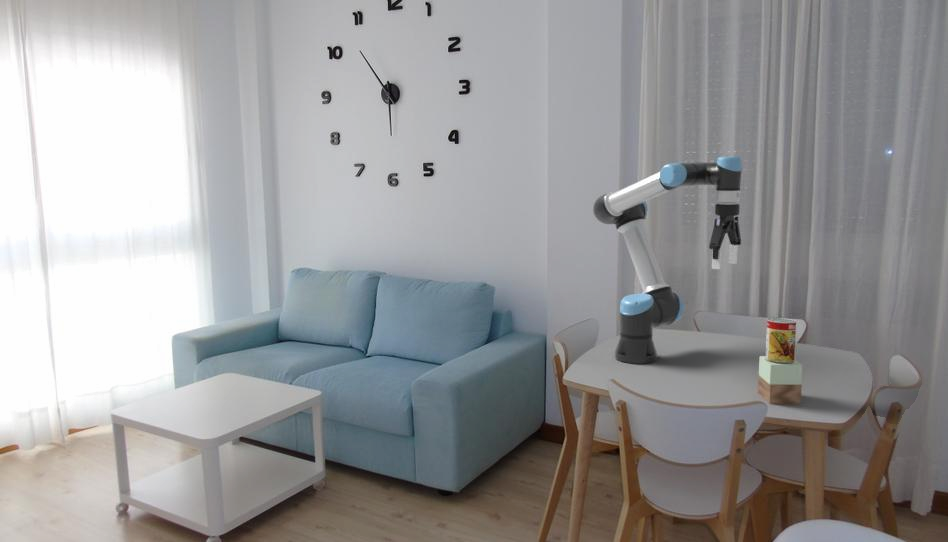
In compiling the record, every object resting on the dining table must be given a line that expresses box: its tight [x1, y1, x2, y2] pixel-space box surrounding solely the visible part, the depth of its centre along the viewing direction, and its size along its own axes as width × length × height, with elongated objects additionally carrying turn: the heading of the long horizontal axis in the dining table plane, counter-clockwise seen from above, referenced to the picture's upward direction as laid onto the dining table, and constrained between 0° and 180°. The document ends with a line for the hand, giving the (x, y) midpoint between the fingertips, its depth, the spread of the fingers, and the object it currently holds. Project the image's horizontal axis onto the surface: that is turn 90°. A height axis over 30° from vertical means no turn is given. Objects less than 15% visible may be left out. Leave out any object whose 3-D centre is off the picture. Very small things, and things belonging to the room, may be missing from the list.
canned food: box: [764, 317, 797, 363], centre depth 192 cm, size 8×8×12 cm
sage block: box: [758, 355, 803, 385], centre depth 193 cm, size 9×9×6 cm
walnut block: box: [757, 375, 803, 405], centre depth 194 cm, size 9×9×6 cm
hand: (724, 266), depth 218 cm, fingers open, 13 cm apart
